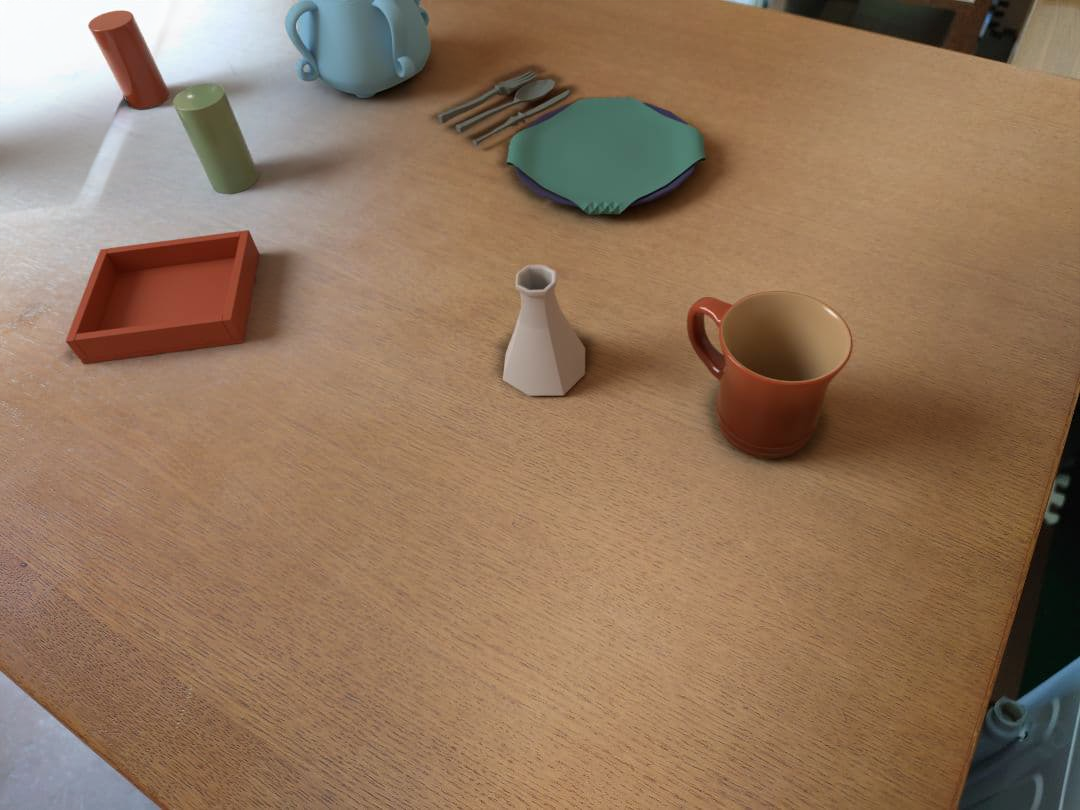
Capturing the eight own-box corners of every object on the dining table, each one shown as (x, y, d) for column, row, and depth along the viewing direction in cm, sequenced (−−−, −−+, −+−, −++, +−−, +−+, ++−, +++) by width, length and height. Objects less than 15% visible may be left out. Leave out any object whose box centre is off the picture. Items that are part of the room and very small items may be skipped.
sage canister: (208, 196, 85) (168, 113, 78) (216, 169, 89) (177, 86, 81) (256, 190, 85) (220, 106, 78) (261, 163, 89) (227, 80, 81)
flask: (521, 328, 69) (510, 239, 61) (598, 346, 67) (597, 256, 59) (489, 387, 65) (472, 299, 57) (570, 408, 63) (564, 320, 55)
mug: (843, 422, 60) (878, 329, 52) (778, 494, 56) (805, 405, 49) (716, 348, 66) (730, 254, 58) (650, 408, 62) (655, 317, 54)
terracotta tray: (82, 364, 70) (64, 341, 68) (115, 272, 78) (100, 249, 76) (243, 342, 70) (231, 319, 68) (259, 253, 78) (249, 229, 76)
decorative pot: (290, 106, 96) (250, -7, 86) (333, 42, 106) (302, -67, 95) (416, 110, 94) (391, -7, 83) (448, 44, 103) (429, -68, 93)
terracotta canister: (124, 111, 98) (82, 33, 91) (133, 90, 102) (94, 13, 94) (165, 106, 98) (127, 27, 91) (173, 85, 102) (137, 7, 94)
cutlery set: (602, 249, 75) (602, 230, 73) (423, 132, 90) (419, 114, 88) (738, 161, 82) (740, 142, 80) (551, 66, 98) (550, 48, 96)
